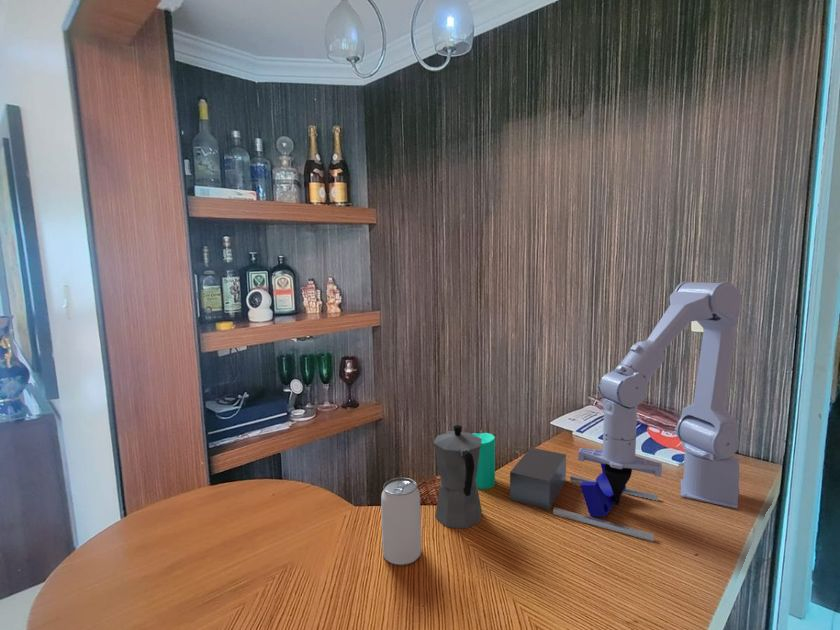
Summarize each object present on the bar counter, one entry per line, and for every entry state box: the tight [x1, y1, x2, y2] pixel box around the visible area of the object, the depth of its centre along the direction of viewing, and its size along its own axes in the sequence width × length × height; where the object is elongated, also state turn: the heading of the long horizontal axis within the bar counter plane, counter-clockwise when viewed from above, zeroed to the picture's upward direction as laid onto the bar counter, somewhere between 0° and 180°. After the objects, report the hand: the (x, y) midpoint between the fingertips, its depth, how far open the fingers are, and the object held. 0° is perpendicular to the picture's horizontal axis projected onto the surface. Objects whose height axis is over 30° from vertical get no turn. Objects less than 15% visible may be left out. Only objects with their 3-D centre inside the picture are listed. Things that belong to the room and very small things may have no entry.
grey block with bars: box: [509, 447, 659, 543], centre depth 87 cm, size 28×16×6 cm, turn 59°
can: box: [380, 477, 422, 566], centre depth 71 cm, size 6×6×12 cm
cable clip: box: [579, 463, 627, 518], centre depth 86 cm, size 12×4×6 cm, turn 137°
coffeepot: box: [433, 424, 483, 530], centre depth 81 cm, size 15×9×18 cm, turn 10°
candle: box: [472, 430, 496, 490], centre depth 95 cm, size 6×6×12 cm
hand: (617, 502), depth 83 cm, fingers closed, pressing on cable clip
